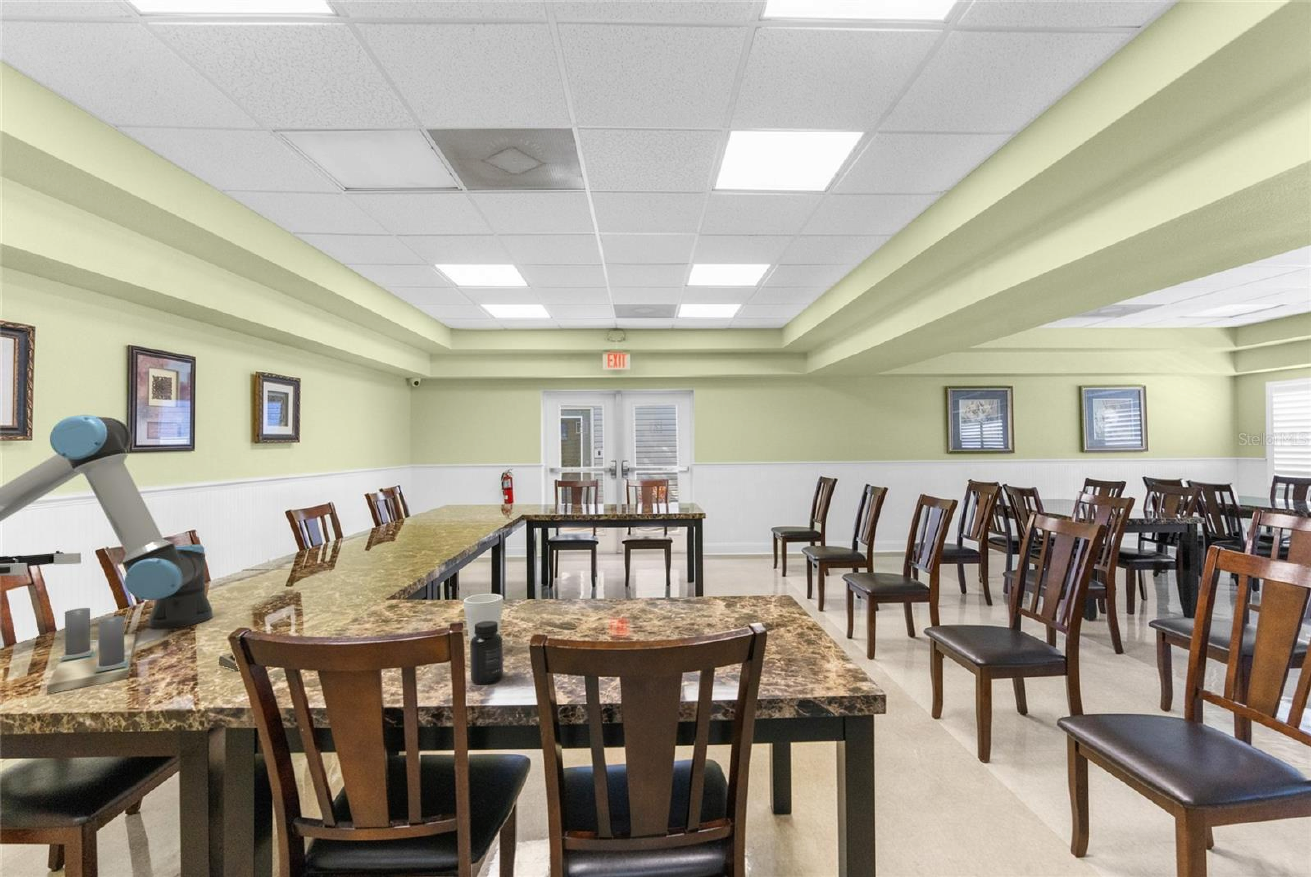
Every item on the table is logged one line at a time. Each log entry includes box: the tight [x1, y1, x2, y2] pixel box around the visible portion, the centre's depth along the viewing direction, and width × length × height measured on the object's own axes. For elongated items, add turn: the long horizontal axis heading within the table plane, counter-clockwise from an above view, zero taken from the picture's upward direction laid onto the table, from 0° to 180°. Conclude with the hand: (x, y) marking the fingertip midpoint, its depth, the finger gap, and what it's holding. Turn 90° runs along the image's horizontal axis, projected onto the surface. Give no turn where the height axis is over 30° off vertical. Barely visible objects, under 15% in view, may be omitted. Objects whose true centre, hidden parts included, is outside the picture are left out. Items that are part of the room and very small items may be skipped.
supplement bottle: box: [469, 621, 504, 686], centre depth 131 cm, size 7×7×12 cm
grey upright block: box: [61, 607, 93, 660], centre depth 146 cm, size 5×5×11 cm
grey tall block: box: [96, 615, 127, 672], centre depth 137 cm, size 5×5×11 cm
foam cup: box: [462, 593, 504, 644], centre depth 149 cm, size 10×9×13 cm
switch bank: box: [46, 633, 137, 695], centre depth 146 cm, size 13×36×2 cm, turn 39°
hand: (53, 563), depth 153 cm, fingers open, 13 cm apart
